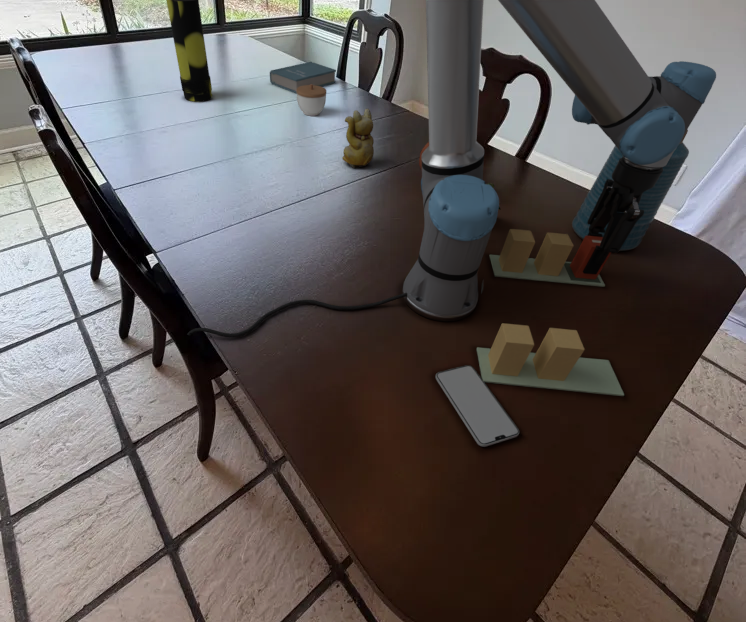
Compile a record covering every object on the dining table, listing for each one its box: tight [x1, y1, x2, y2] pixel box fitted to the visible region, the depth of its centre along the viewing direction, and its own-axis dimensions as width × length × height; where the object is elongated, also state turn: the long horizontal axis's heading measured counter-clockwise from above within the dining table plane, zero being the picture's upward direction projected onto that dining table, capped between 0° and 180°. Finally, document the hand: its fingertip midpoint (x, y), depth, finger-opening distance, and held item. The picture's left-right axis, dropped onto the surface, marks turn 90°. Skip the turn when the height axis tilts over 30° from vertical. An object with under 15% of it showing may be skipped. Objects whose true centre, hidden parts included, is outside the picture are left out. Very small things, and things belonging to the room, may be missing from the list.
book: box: [269, 61, 337, 95], centre depth 183 cm, size 23×16×5 cm
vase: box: [571, 128, 690, 252], centre depth 102 cm, size 16×16×27 cm
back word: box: [489, 228, 606, 288], centre depth 96 cm, size 24×8×8 cm, turn 85°
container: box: [166, 0, 213, 103], centre depth 156 cm, size 11×11×30 cm
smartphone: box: [435, 364, 520, 448], centre depth 71 cm, size 7×1×15 cm
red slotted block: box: [570, 236, 612, 279], centre depth 96 cm, size 4×4×8 cm
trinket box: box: [296, 84, 327, 117], centre depth 158 cm, size 11×11×9 cm
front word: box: [476, 322, 625, 397], centre depth 75 cm, size 24×8×8 cm, turn 85°
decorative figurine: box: [342, 108, 375, 169], centre depth 128 cm, size 10×8×15 cm
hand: (585, 265), depth 97 cm, fingers closed on red slotted block, 4 cm apart
